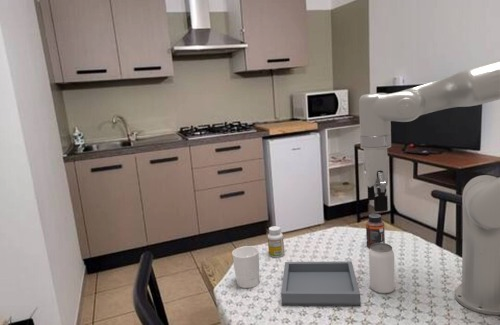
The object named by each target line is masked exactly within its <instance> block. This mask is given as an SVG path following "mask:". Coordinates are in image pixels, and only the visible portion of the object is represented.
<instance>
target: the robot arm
mask: <svg viewBox="0 0 500 325" xmlns="http://www.w3.org/2000/svg"><path fill="white" fill-rule="evenodd" d="M499 100H500V59H497V60H493V61H491V62H486V63H484V64H480V65H477V66H476V65H475V66H473V67H469V68H467V69H464V70H461V71H459V72H456V73H454V74H452V75H449V76H447V77H444V78H440V79H438V80H435V81H430V82H427V83H424V84H421V85H418V86H415V87H410V88H406V89H404V90H400V91H396V92H392V93H387V92H375V93H367V94H362V95H361V96H360V97H359V100H358V111H359V113H358V114H359V139H360V140H359V141H360V149H363V165H362V166H363V170H362V171H363V172H362V173H363V181H364V183H365V184H366V187H367V199H368V200H369V201H373V211H374V212H387V211H388V210H389V209H388V208H389V206H388V204H389V203H388V191H387V190H388V189H387V187H388V186H389V159H388V157H389V156H388V149H389V148H392V131H391V130H392V124H391V122H400V123H406V122H407V123H408V122H412V121H414V120H416V119H418V118H419V117H420V116H423V115H427V114H429V113H430V114H431V113H433V112H439V111H442V110H446V109H452V108H458V107H460V108H462V107H463V108H465V107H473V106H479V105H484V104H488V103H492V102H495V101H499ZM461 201H462V203H461V204H462V247H461V248H462V249H461V250H462V255H461V257H462V260H461V263H462V264H461V285H458V286H457V287H456V288H455V290H454V298H455V299H456V301H457V302H458V303H459V304H460V305H462V306H463V307H465V308H467V310H468V309H469V310H471V311H473V312H477V313H480V314H484V315H493V316H500V176H499V177H496V176H494V175H488V174H484V175H478V176H475V177H473V178H471V179H469V181H468V182H467V183H466V184H465V186H464V188H463V191H462V200H461Z"/></svg>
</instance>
